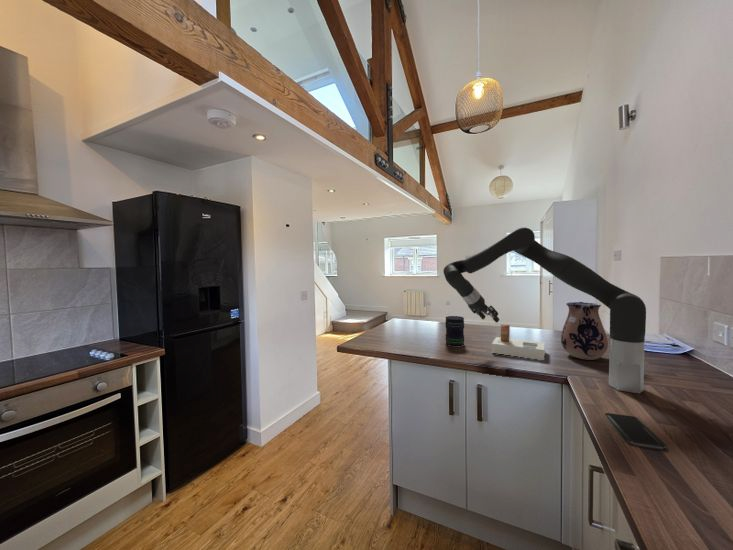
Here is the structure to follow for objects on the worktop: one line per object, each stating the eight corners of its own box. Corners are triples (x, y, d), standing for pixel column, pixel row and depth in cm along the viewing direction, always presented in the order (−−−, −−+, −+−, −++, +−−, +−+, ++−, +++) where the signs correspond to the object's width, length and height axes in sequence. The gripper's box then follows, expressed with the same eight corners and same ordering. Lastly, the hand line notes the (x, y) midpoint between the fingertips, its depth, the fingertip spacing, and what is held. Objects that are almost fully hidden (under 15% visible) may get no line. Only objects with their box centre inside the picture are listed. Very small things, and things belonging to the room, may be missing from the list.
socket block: (544, 360, 133) (544, 349, 133) (491, 353, 145) (491, 343, 144) (544, 352, 145) (544, 342, 145) (496, 346, 157) (496, 336, 156)
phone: (628, 442, 73) (603, 412, 87) (628, 446, 73) (603, 416, 87) (669, 448, 70) (637, 416, 84) (669, 453, 70) (637, 420, 84)
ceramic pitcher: (567, 361, 132) (568, 306, 130) (554, 348, 152) (554, 299, 150) (615, 365, 126) (616, 307, 125) (595, 350, 146) (595, 300, 145)
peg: (508, 342, 145) (509, 326, 145) (500, 341, 147) (500, 325, 147) (509, 340, 148) (510, 324, 148) (501, 339, 151) (501, 324, 150)
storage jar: (466, 343, 163) (466, 316, 162) (461, 348, 154) (461, 320, 154) (448, 341, 168) (448, 315, 167) (443, 345, 160) (442, 318, 159)
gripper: (488, 293, 133) (507, 316, 138) (466, 290, 146) (483, 311, 151) (479, 305, 131) (498, 328, 136) (457, 302, 144) (475, 322, 149)
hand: (490, 319), depth 143 cm, fingers open, 8 cm apart
